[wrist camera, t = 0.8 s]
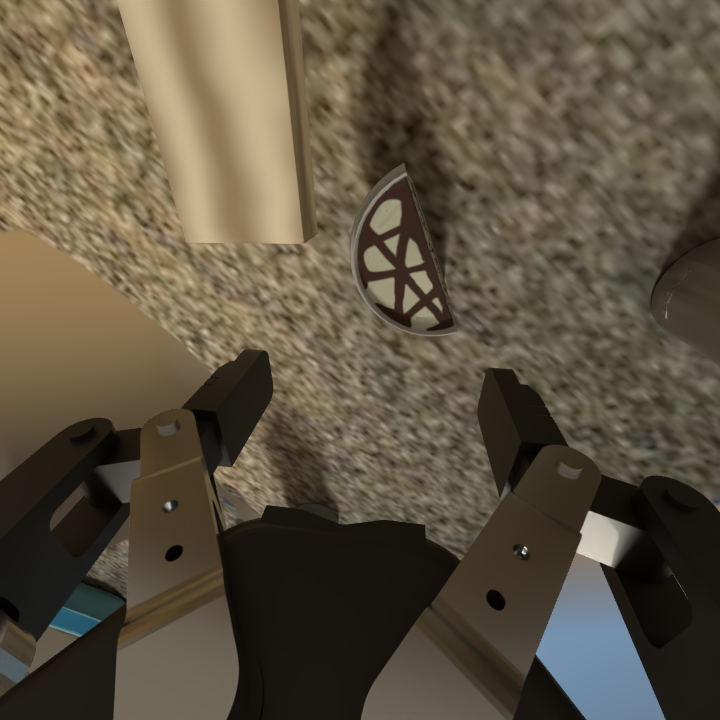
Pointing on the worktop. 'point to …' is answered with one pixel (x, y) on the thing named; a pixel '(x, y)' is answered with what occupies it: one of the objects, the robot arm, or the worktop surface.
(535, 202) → the worktop surface
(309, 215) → the maple block
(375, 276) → the food container
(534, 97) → the worktop surface
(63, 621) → the casserole dish
